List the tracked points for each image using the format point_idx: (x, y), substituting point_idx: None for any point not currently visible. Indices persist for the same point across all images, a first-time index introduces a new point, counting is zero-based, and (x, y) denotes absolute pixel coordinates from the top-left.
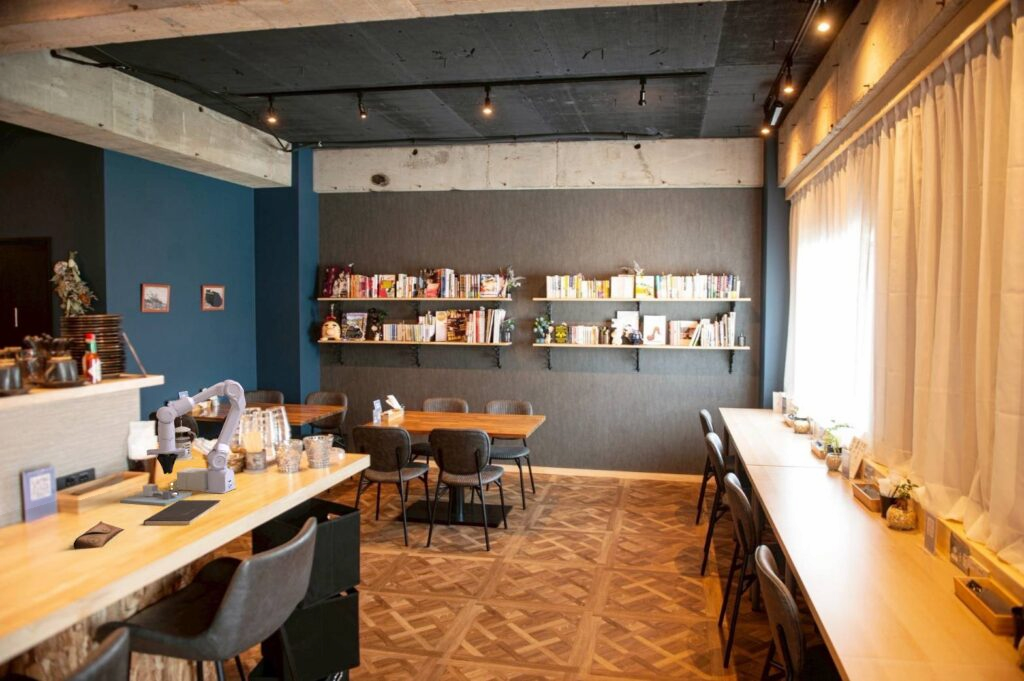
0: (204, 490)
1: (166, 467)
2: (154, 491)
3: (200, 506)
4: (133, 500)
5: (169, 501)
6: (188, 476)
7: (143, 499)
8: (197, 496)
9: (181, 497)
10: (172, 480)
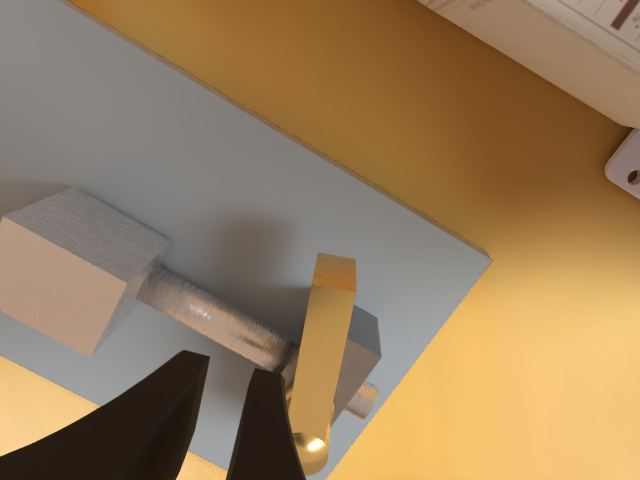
0: (624, 160)
1: (165, 456)
2: (134, 297)
3: None
4: (8, 349)
5: (324, 474)
6: (492, 9)
7: None
8: (541, 304)
9: (406, 369)
10: (302, 338)
